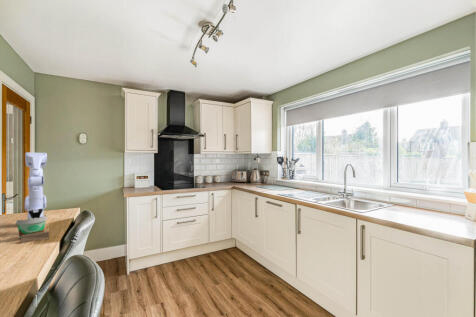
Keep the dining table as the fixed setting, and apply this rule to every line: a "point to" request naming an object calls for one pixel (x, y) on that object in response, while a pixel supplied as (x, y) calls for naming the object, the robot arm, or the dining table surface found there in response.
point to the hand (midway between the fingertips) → (35, 223)
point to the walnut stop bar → (34, 236)
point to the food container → (31, 226)
